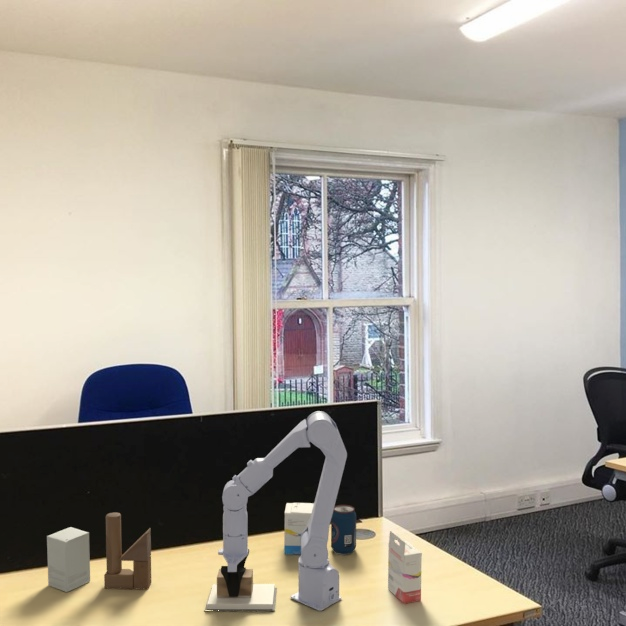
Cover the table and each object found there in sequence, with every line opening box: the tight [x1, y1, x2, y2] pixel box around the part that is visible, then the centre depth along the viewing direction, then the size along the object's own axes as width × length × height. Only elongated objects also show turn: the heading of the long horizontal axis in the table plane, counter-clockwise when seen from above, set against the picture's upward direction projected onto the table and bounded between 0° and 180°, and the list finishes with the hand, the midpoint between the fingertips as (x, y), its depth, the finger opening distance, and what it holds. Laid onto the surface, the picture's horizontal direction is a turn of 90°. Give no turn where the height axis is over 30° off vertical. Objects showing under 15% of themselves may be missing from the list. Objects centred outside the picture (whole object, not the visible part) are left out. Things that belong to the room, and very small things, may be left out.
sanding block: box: [216, 568, 254, 598], centre depth 163 cm, size 8×4×5 cm, turn 90°
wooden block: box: [103, 511, 152, 590], centre depth 170 cm, size 4×11×18 cm, turn 88°
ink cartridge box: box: [387, 530, 423, 604], centre depth 166 cm, size 9×5×15 cm, turn 21°
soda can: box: [330, 504, 357, 556], centre depth 191 cm, size 7×7×12 cm
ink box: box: [283, 502, 314, 555], centre depth 193 cm, size 9×8×12 cm
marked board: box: [204, 583, 278, 613], centre depth 163 cm, size 16×11×2 cm
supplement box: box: [46, 526, 91, 593], centre depth 171 cm, size 7×7×13 cm
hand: (235, 588), depth 163 cm, fingers open, 7 cm apart
